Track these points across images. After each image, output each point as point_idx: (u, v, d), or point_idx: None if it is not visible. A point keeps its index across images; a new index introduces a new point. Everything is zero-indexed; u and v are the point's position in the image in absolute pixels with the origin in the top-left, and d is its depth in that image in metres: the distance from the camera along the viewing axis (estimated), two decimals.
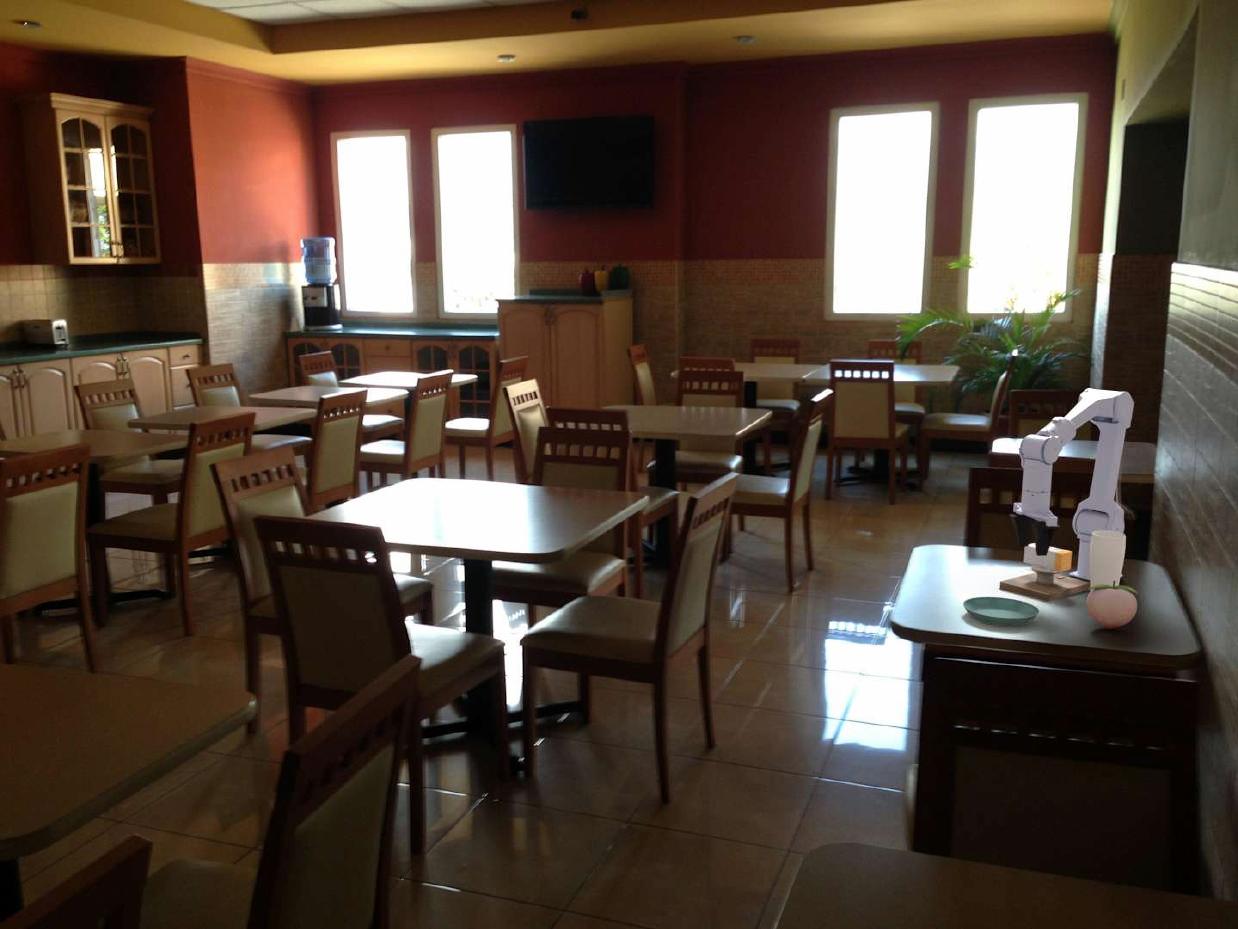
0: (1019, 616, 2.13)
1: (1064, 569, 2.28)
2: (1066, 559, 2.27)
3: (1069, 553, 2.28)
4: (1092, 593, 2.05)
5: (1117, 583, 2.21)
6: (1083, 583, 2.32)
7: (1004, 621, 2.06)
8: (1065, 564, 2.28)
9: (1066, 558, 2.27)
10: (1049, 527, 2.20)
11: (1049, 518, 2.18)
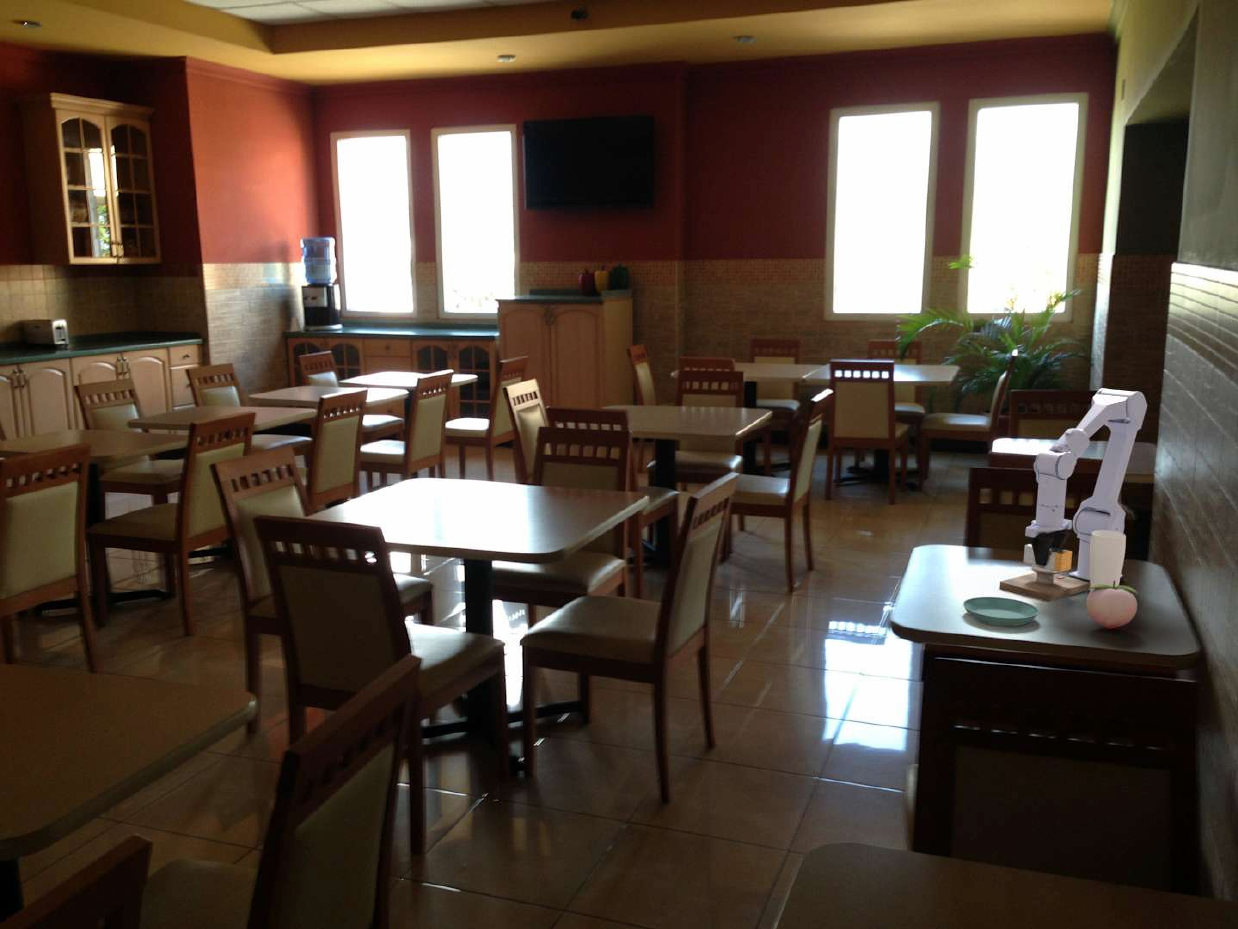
0: (1019, 616, 2.13)
1: (1064, 569, 2.28)
2: (1066, 559, 2.27)
3: (1069, 553, 2.28)
4: (1092, 593, 2.05)
5: (1117, 583, 2.21)
6: (1083, 583, 2.32)
7: (1004, 621, 2.06)
8: (1065, 564, 2.28)
9: (1066, 558, 2.27)
10: (1036, 537, 2.28)
11: (1026, 528, 2.27)
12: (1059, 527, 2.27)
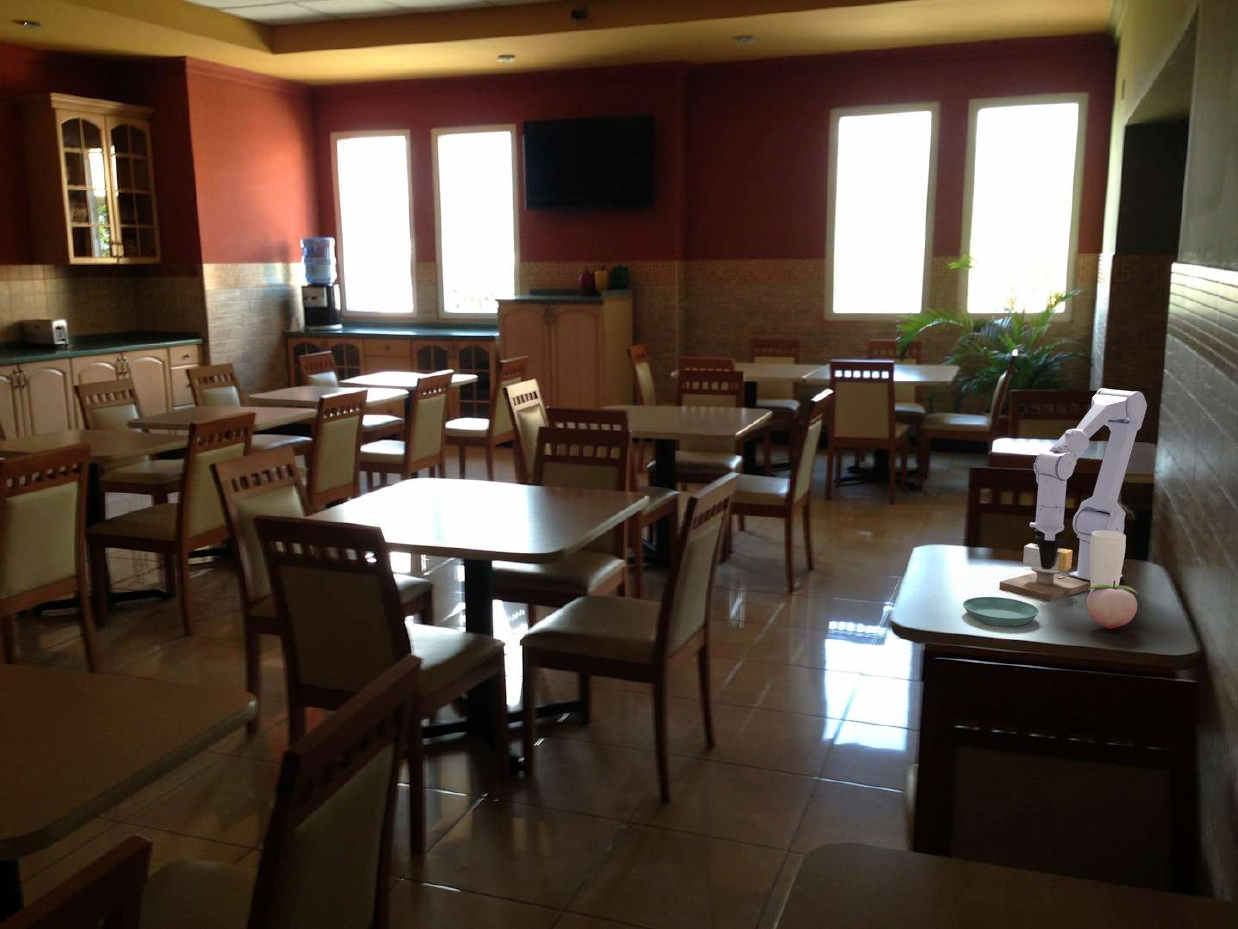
0: (1019, 616, 2.13)
1: (1067, 568, 2.28)
2: (1068, 558, 2.28)
3: (1070, 552, 2.29)
4: (1092, 593, 2.05)
5: (1117, 583, 2.21)
6: (1083, 583, 2.32)
7: (1004, 621, 2.06)
8: (1068, 563, 2.28)
9: (1068, 557, 2.28)
10: (1048, 540, 2.26)
11: (1046, 532, 2.24)
12: (1063, 527, 2.29)
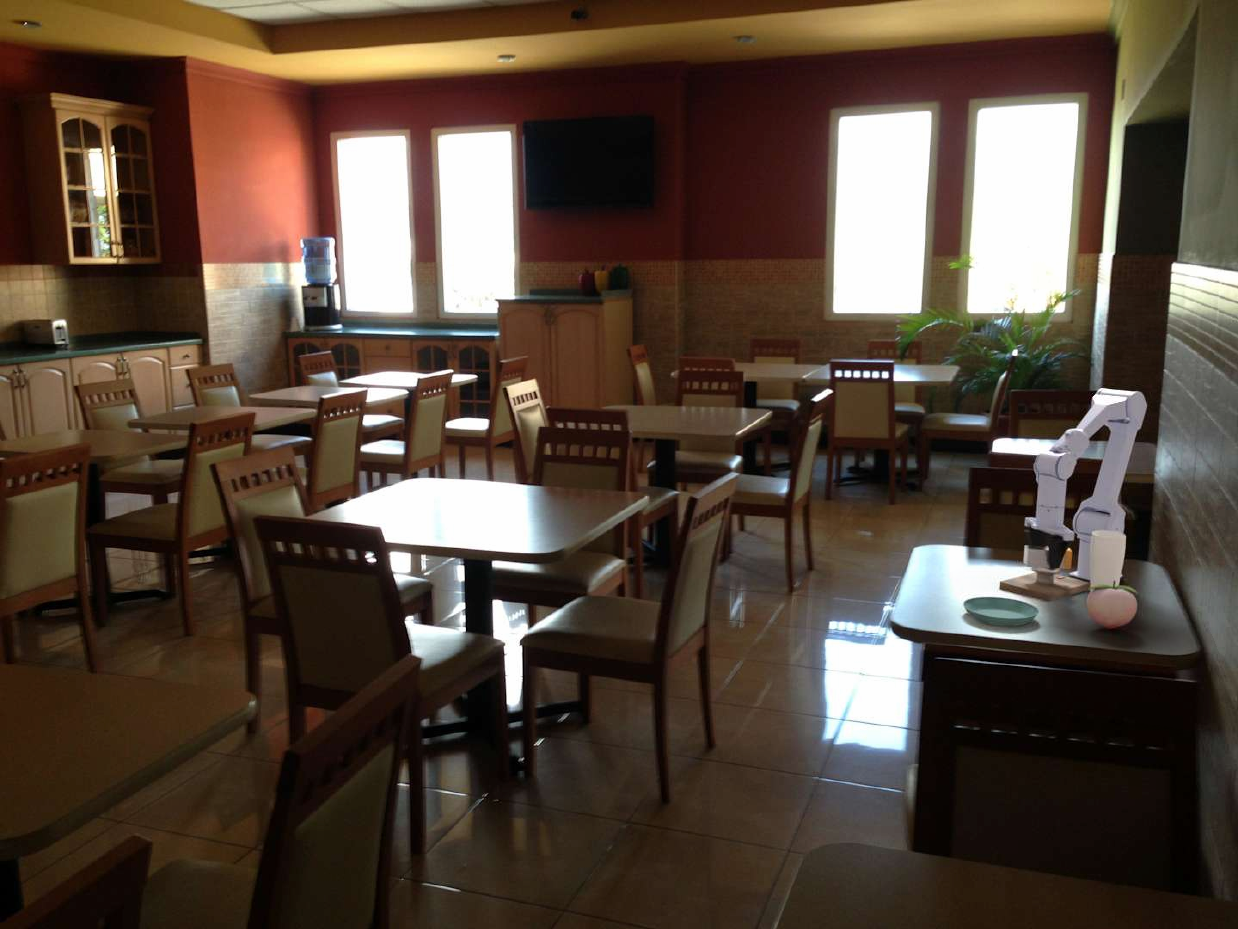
0: (1019, 616, 2.13)
1: None
2: None
3: None
4: (1092, 593, 2.05)
5: (1117, 583, 2.21)
6: (1083, 583, 2.32)
7: (1004, 621, 2.06)
8: None
9: None
10: (1063, 540, 2.25)
11: (1067, 533, 2.23)
12: None
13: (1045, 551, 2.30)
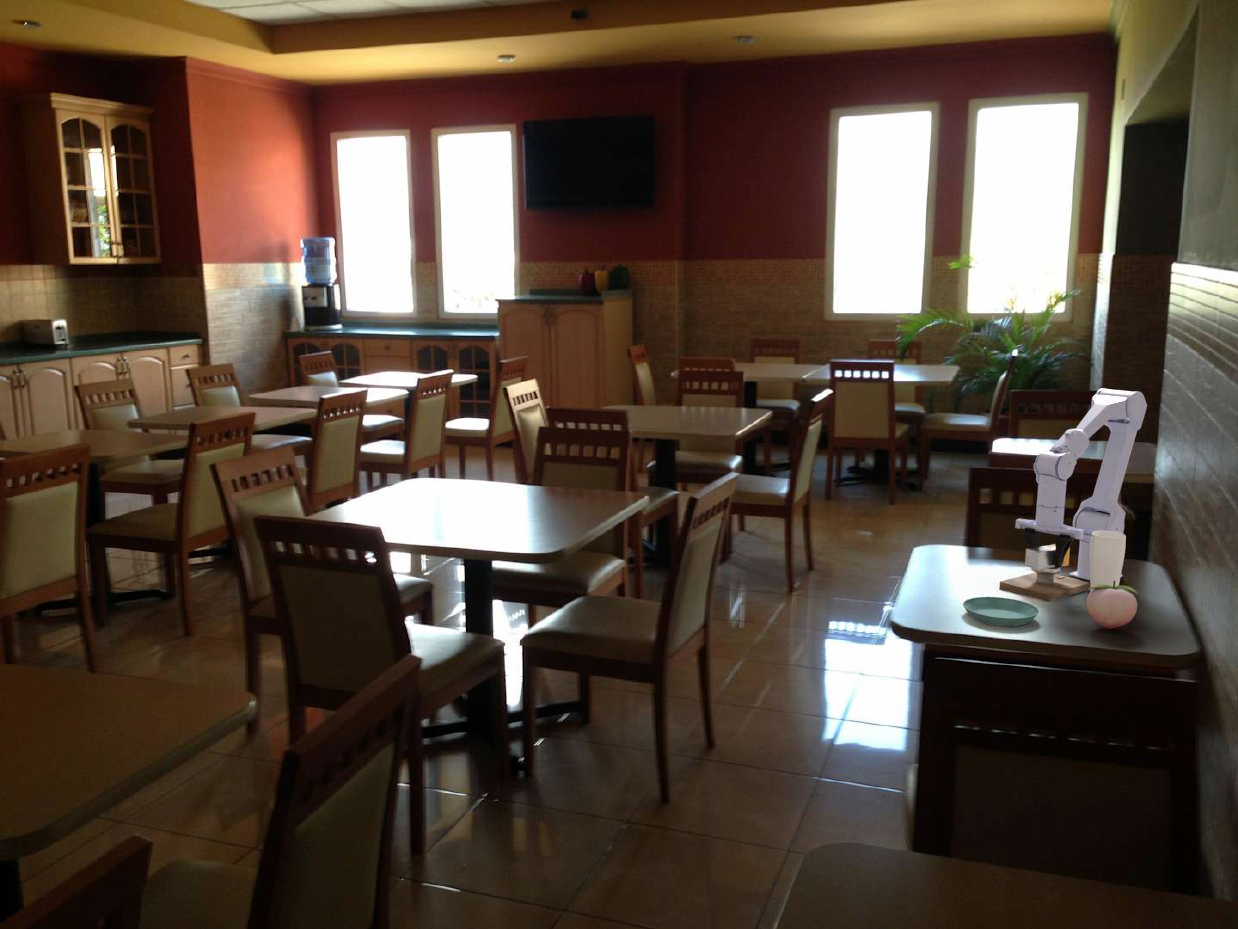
0: (1019, 616, 2.13)
1: None
2: None
3: None
4: (1092, 593, 2.05)
5: (1117, 583, 2.21)
6: (1083, 583, 2.32)
7: (1004, 621, 2.06)
8: None
9: None
10: (1071, 539, 2.27)
11: (1079, 531, 2.25)
12: None
13: (1051, 551, 2.29)
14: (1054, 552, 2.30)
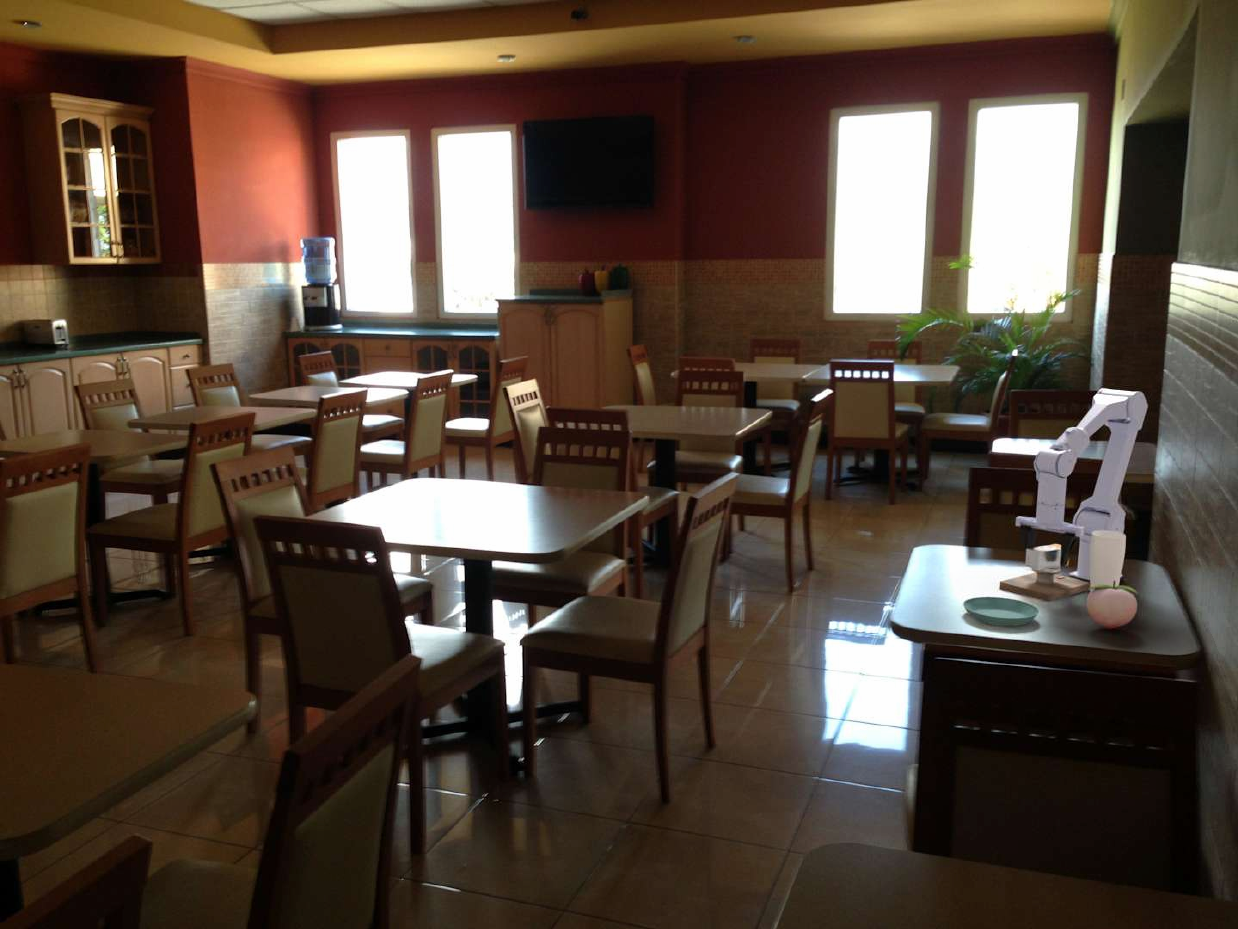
0: (1019, 616, 2.13)
1: None
2: None
3: None
4: (1092, 593, 2.05)
5: (1117, 583, 2.21)
6: (1083, 583, 2.32)
7: (1004, 621, 2.06)
8: None
9: None
10: (1076, 537, 2.26)
11: (1080, 529, 2.25)
12: None
13: (1051, 551, 2.29)
14: (1054, 552, 2.30)
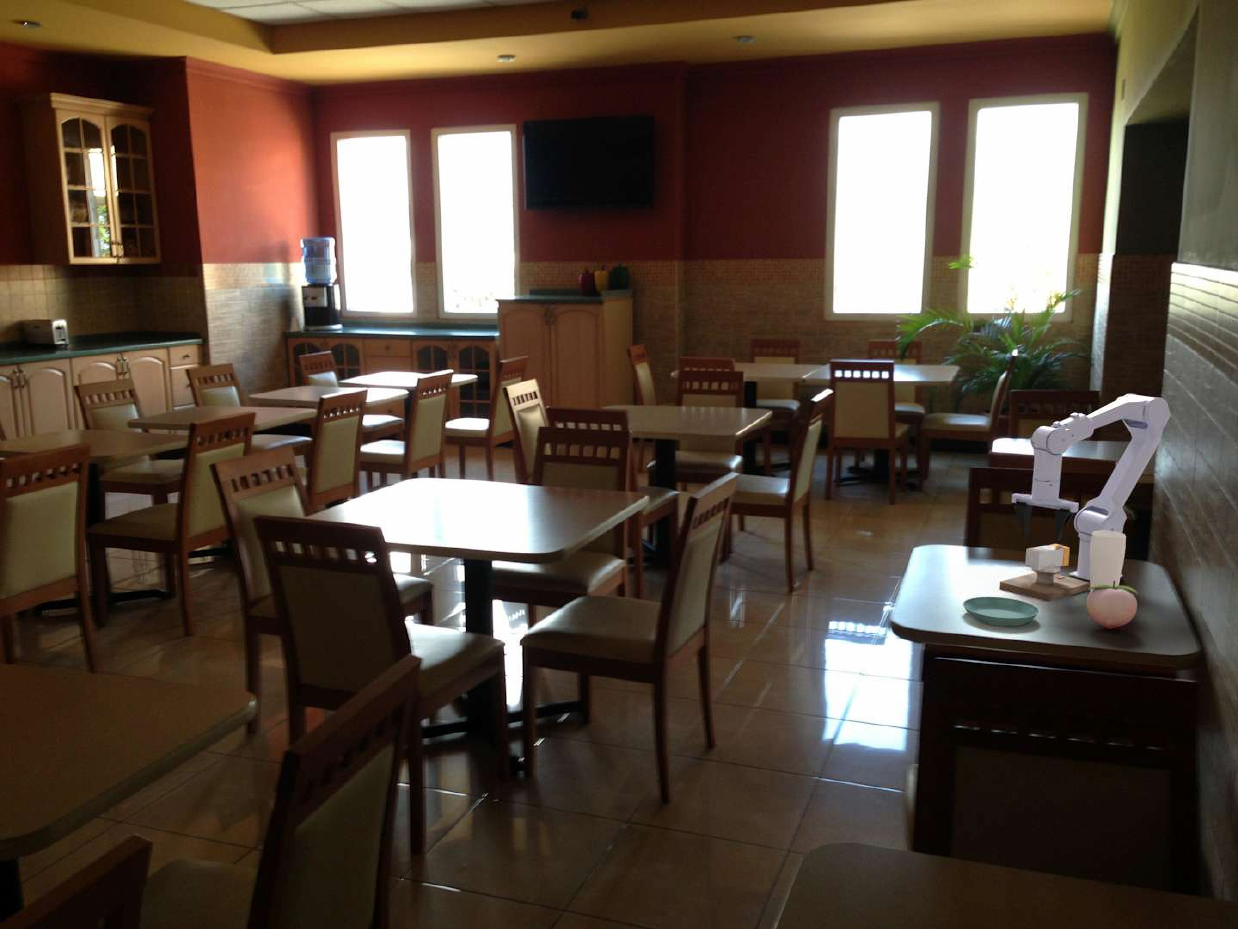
0: (1019, 616, 2.13)
1: None
2: None
3: None
4: (1092, 593, 2.05)
5: (1117, 583, 2.21)
6: (1083, 583, 2.32)
7: (1004, 621, 2.06)
8: None
9: None
10: (1070, 513, 2.31)
11: (1075, 505, 2.29)
12: None
13: (1051, 551, 2.29)
14: (1054, 552, 2.30)
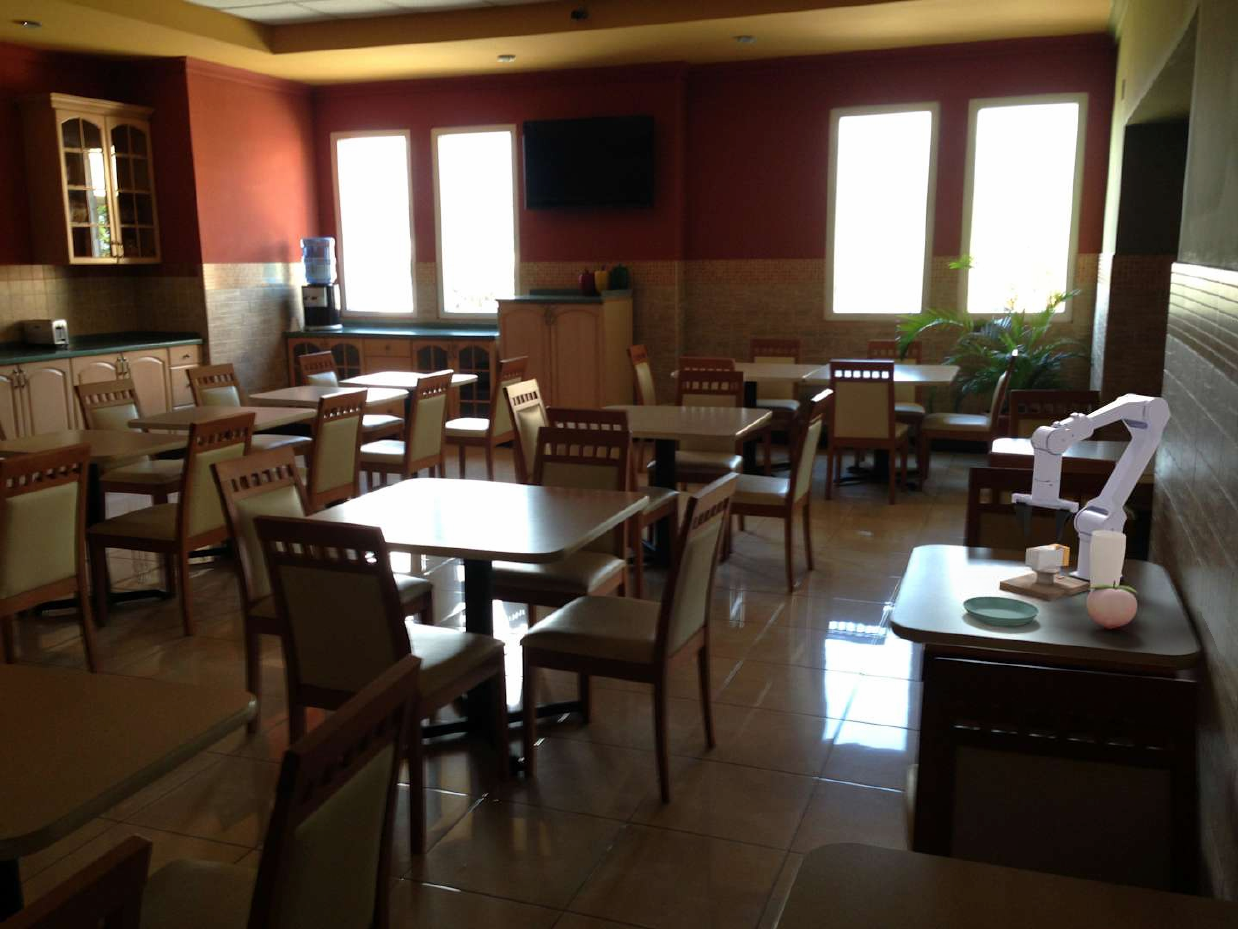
0: (1019, 616, 2.13)
1: None
2: None
3: None
4: (1092, 593, 2.05)
5: (1117, 583, 2.21)
6: (1083, 583, 2.32)
7: (1004, 621, 2.06)
8: None
9: None
10: (1070, 513, 2.31)
11: (1075, 505, 2.29)
12: None
13: (1051, 551, 2.29)
14: (1054, 552, 2.30)
